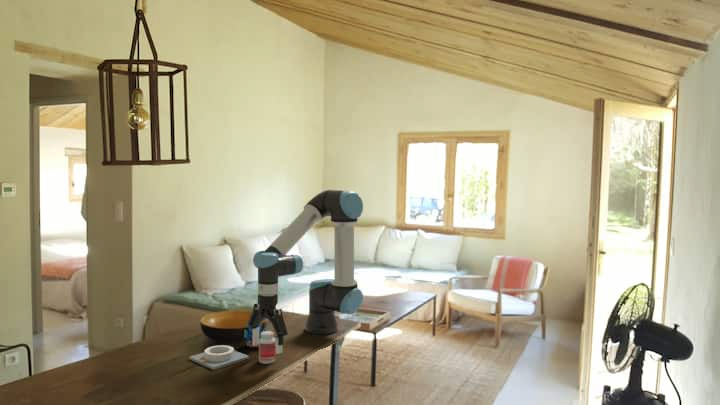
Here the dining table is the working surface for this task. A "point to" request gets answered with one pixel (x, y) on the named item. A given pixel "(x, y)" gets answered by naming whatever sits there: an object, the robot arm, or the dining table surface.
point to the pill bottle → (267, 347)
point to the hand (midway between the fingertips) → (267, 349)
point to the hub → (218, 357)
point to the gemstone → (249, 336)
